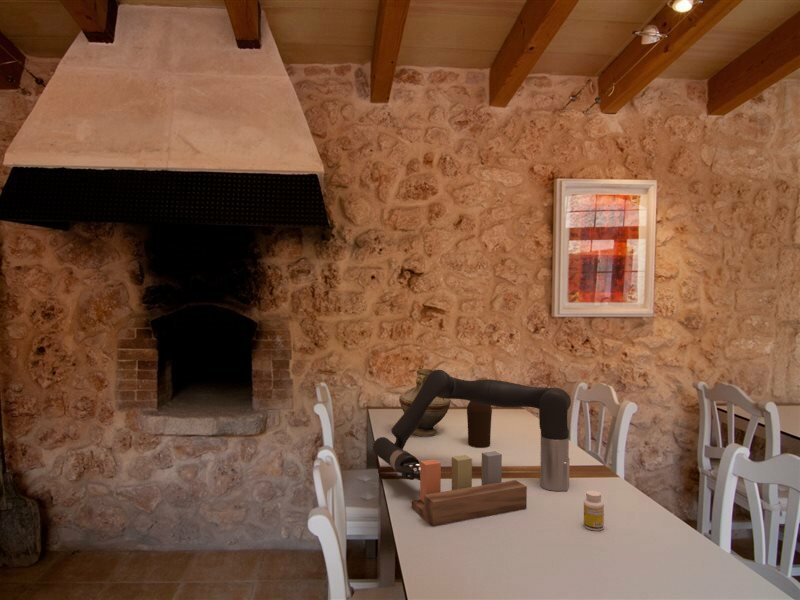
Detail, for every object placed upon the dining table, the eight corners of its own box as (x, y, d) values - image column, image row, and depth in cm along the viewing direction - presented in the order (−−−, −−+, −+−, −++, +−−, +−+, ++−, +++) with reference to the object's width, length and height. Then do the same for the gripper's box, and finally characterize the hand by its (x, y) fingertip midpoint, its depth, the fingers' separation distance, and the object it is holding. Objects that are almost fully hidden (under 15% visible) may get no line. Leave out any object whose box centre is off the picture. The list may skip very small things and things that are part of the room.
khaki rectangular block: (451, 494, 175) (451, 456, 175) (465, 492, 177) (465, 455, 177) (457, 498, 172) (457, 460, 171) (471, 496, 174) (471, 458, 173)
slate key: (481, 489, 180) (481, 452, 179) (494, 487, 182) (494, 451, 181) (488, 493, 176) (488, 456, 176) (501, 491, 178) (501, 454, 178)
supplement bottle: (587, 521, 161) (588, 488, 161) (606, 526, 157) (606, 492, 157) (580, 527, 157) (580, 493, 156) (599, 533, 153) (600, 498, 153)
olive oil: (479, 449, 231) (480, 390, 230) (461, 444, 239) (461, 386, 239) (496, 445, 238) (497, 387, 237) (478, 439, 246) (478, 384, 245)
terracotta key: (420, 499, 171) (420, 461, 171) (434, 497, 173) (434, 459, 173) (425, 504, 167) (425, 465, 167) (440, 501, 169) (440, 462, 169)
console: (411, 507, 171) (411, 484, 171) (499, 492, 184) (499, 471, 183) (433, 526, 157) (433, 502, 157) (526, 508, 170) (526, 486, 170)
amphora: (404, 443, 243) (410, 377, 240) (391, 425, 266) (396, 364, 262) (454, 442, 249) (460, 377, 246) (437, 424, 272) (442, 364, 269)
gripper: (386, 454, 186) (406, 470, 170) (421, 450, 191) (445, 464, 175) (386, 476, 186) (406, 494, 170) (421, 471, 191) (445, 488, 175)
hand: (426, 479), depth 173 cm, fingers closed
